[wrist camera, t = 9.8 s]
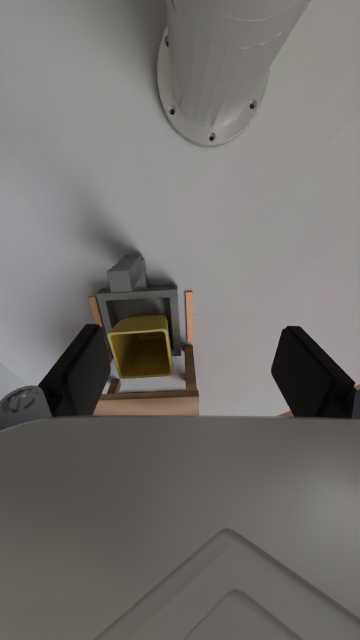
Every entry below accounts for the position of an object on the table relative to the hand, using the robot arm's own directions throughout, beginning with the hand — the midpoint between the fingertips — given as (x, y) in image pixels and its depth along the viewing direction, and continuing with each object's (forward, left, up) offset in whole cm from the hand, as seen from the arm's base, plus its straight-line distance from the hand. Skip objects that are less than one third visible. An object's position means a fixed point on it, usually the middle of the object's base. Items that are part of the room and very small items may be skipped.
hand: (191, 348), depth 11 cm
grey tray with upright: (+8, -8, -25) cm, 28 cm away
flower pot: (+13, -7, -26) cm, 30 cm away
